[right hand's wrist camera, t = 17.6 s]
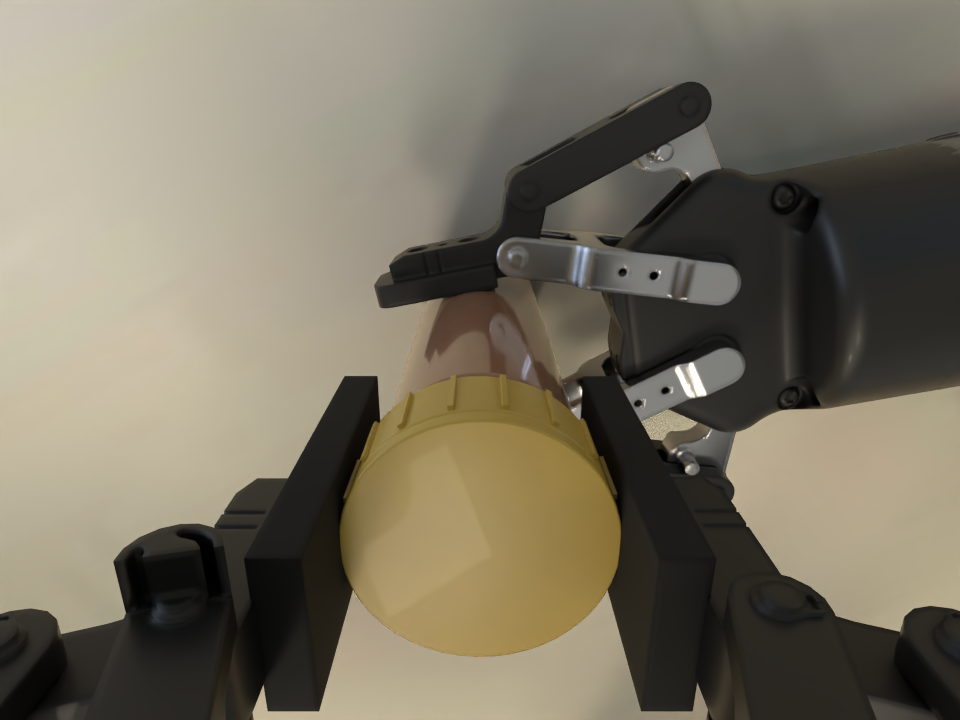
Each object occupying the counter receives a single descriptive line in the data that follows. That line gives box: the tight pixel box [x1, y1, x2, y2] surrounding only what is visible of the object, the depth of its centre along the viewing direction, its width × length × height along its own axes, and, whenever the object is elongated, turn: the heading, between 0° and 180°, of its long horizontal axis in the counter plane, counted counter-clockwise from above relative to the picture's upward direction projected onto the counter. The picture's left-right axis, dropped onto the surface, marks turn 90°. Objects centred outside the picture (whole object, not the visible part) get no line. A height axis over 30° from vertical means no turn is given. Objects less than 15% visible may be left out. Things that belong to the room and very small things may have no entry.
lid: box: [339, 374, 621, 657], centre depth 11 cm, size 5×5×2 cm
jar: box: [392, 277, 574, 414], centre depth 19 cm, size 4×4×16 cm
